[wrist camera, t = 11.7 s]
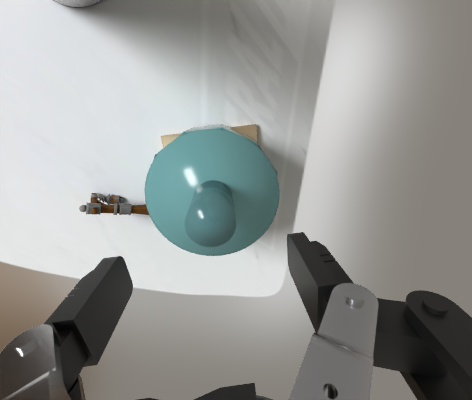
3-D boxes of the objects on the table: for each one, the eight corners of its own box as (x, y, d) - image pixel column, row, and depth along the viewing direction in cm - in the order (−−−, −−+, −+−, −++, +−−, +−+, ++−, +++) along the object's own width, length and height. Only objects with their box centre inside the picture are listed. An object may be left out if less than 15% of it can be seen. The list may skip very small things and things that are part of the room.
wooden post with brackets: (83, 187, 26) (78, 203, 22) (155, 192, 30) (161, 206, 27) (82, 201, 27) (78, 219, 23) (153, 204, 31) (159, 220, 27)
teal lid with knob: (155, 132, 25) (93, 147, 13) (260, 119, 25) (295, 122, 13) (176, 226, 29) (145, 304, 17) (267, 215, 29) (298, 283, 17)
